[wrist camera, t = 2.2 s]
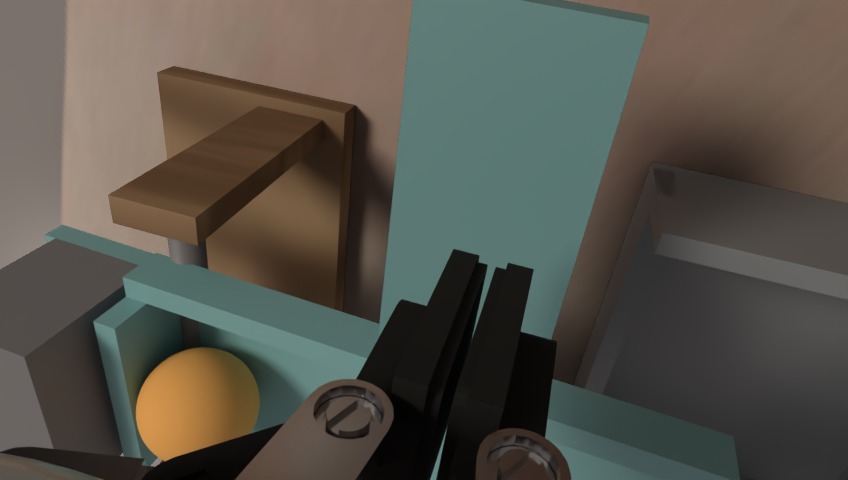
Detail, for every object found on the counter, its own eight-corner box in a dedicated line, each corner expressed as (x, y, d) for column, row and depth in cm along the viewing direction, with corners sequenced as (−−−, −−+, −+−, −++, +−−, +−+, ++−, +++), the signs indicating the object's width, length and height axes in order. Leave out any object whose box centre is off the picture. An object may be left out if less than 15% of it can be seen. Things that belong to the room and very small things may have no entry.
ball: (196, 309, 22) (98, 374, 19) (283, 353, 20) (193, 431, 17) (204, 386, 24) (118, 456, 21) (283, 431, 22) (203, 513, 19)
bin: (652, 161, 24) (663, 232, 19) (1034, 243, 21) (1162, 348, 16) (558, 424, 32) (549, 522, 27) (828, 503, 30) (871, 626, 25)
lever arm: (-10, -107, 17) (-282, -111, 12) (927, 62, 12) (1124, 175, 7) (105, 388, 27) (-15, 494, 23) (628, 588, 22) (622, 781, 18)
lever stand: (173, 66, 27) (-32, 145, 19) (355, 105, 26) (224, 211, 17) (199, 315, 35) (63, 453, 27) (339, 356, 34) (245, 516, 25)
